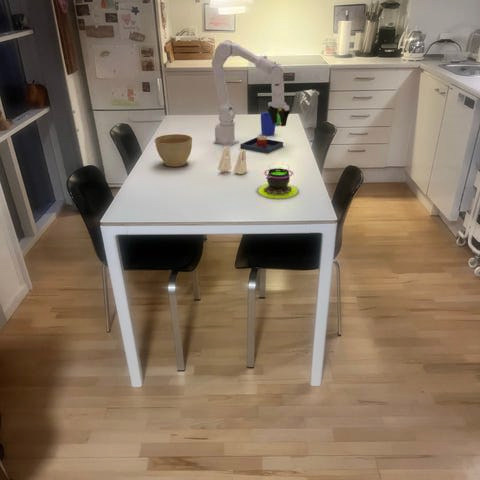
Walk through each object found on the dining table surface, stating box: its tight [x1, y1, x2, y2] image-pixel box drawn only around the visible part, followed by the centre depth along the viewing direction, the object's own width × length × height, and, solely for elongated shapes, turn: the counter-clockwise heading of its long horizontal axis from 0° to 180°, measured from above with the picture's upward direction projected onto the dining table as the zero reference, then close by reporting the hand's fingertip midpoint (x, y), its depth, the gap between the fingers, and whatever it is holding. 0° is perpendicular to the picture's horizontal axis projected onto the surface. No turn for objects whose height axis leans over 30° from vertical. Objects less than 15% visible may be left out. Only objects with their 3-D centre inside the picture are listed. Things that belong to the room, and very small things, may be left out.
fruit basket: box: [263, 109, 282, 126], centre depth 267 cm, size 11×9×11 cm
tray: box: [239, 136, 284, 154], centre depth 230 cm, size 15×14×2 cm
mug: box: [260, 112, 277, 137], centre depth 249 cm, size 8×12×10 cm
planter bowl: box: [154, 133, 193, 168], centre depth 208 cm, size 16×16×11 cm
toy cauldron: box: [258, 162, 298, 200], centre depth 180 cm, size 15×15×11 cm
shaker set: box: [217, 145, 248, 175], centre depth 198 cm, size 12×4×11 cm, turn 81°
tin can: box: [256, 134, 268, 148], centre depth 229 cm, size 5×5×5 cm
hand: (279, 124), depth 228 cm, fingers open, 7 cm apart
